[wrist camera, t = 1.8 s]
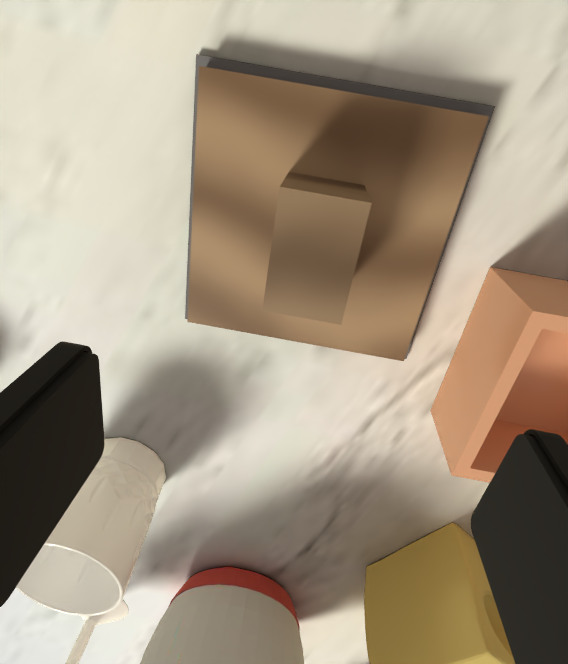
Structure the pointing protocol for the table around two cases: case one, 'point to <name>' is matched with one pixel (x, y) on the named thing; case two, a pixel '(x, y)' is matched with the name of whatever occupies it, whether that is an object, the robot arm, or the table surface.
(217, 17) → the table surface
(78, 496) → the white cup
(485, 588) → the cheese
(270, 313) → the lid
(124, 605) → the champagne flute
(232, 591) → the citrus juicer
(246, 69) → the mat
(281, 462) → the table surface
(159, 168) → the table surface
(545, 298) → the salmon orange open box
